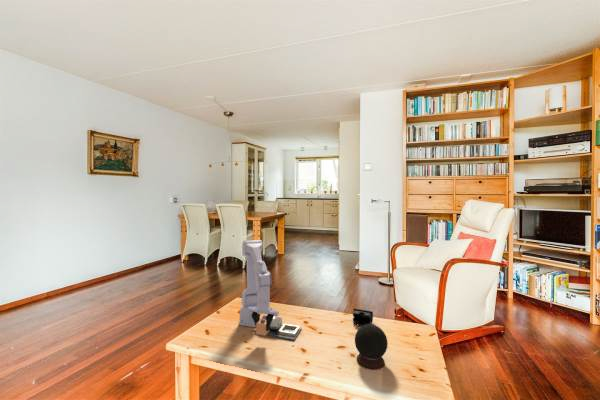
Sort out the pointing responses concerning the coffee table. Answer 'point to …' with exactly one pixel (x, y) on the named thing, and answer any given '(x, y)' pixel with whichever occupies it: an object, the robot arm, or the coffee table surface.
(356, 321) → the end cap
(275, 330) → the motor mount
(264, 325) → the cube with grey knob
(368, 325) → the black orb on pedestal
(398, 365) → the coffee table surface
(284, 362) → the coffee table surface
